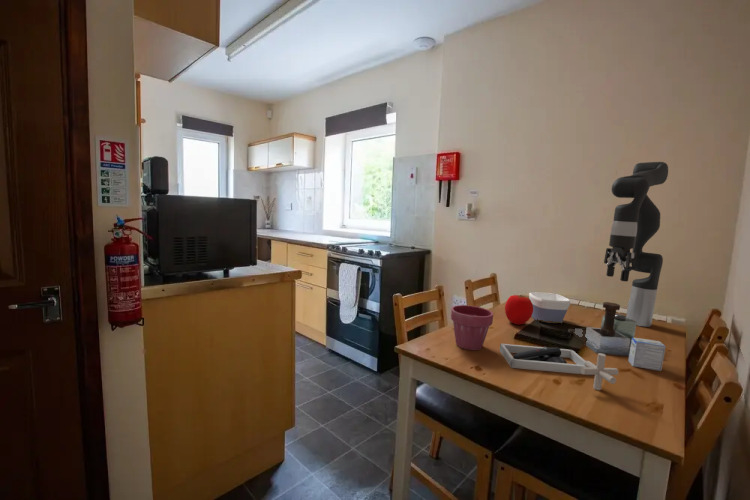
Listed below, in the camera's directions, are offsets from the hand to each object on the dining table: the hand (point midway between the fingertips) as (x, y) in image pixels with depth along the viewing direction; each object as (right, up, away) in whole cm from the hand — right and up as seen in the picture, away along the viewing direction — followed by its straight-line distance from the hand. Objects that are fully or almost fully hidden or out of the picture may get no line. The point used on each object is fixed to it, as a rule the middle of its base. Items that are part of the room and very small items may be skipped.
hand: (616, 278), depth 127 cm
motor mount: (+2, -26, +7) cm, 26 cm away
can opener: (-36, -26, -15) cm, 47 cm away
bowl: (-10, -22, +32) cm, 40 cm away
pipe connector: (-26, -29, -29) cm, 48 cm away
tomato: (-26, -22, +25) cm, 42 cm away
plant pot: (-55, -24, -3) cm, 60 cm away
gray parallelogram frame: (-33, -26, -14) cm, 44 cm away
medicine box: (+1, -28, -12) cm, 31 cm away
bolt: (-2, -24, +3) cm, 25 cm away
